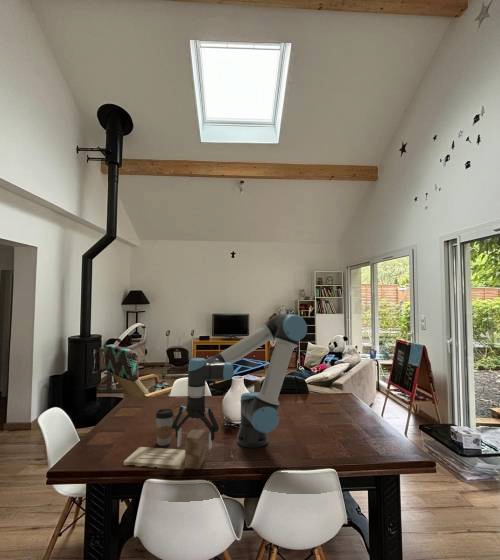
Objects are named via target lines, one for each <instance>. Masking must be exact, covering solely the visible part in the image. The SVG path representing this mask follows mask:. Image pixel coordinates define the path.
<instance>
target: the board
mask: <svg viewBox="0 0 500 560" xmlns="http://www.w3.org/2000/svg"><path fill="white" fill-rule="evenodd" d="M183 464H185V449H179V448H177V449H176V448H165V447H164V448H163V447H148V446H147V447H146V446H139V447H138V448H137V449H136V450H135V451H134V452H132V453H131V454H130V455H129V456H128V457H127V458H126V459H125V460H124V461H123V466H127V465H135V466H134V467H141V466H148V467H147V468H154V467H157V469H167V470H168V469H169V470H180V469H181V467H182V466H183Z"/></svg>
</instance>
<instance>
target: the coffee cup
mask: <svg viewBox="0 0 500 560" xmlns="http://www.w3.org/2000/svg"><path fill="white" fill-rule="evenodd" d="M155 420H156V422H155V424H156V426H155V427H156V428H155V430H156V442H157V445H158V446H161V447H164V446H168V445H170V444H171V442H172V435H173V433H172V432H173V429H172V428H171V427H172V425H173V423H174V421H173V420H174V412H173V409H171V408H160V409H158V410H157V411H156V414H155Z"/></svg>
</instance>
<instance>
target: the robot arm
mask: <svg viewBox="0 0 500 560" xmlns="http://www.w3.org/2000/svg"><path fill="white" fill-rule="evenodd" d="M307 333H308V324H307V323H306V321H305V319H304V318H303V317H302V316H301V315H298V314H294V313H291V314H290V313H289V314H287V313H280V314H277V315H276V316H274V317H272V318H271V319H269V320H268V321H266V322H265V323H263V324H262V325H261V328H259V329H257V330H255V331H254V332H251V334H249V335H246V336H245V337H244V338H242V339H241V340H239V341H237V342H235V343H234V344H232V345H231V346H229V347H228V348H225V349H224V350H223V351H221V352H219V353H218V354H216V355H214V356H210V357H208V358H207V359H206V358H203V357H193V358H190V359H189V360H188V368H187V397H186V398H187V401H186V404H187V405H186V406H185V405H181V406H180V407H179V409H178V414H177V415H176V417H175V419H174V421H173V422H172V427H171V428H172V430H173V429H174V430H175V438H176V439H177V440H176V441H177V443H176V444H177V445H176V447H177V448H180V446H181V445H182V429H183V428H181V427H182V426H183V425H184V424H185V422H186V421H187V420H188V419H189V418H191V419H197V420H199V419H200V420H201V421H202V422H203V423H204V425H205V426H206V428H207V429H208V430H209V432H208V450H211V449H212V447H213V442H214V441H215V436H216V435H215V434H216V433H217V432H218V431H219V430H220V427H219V426H220V425H219V424H218V422H217V420H216V418H215V417H216V416H215V415H214V413H213V407H212V406H210V407H206V406H205V405H206V382H208V381H209V382H210V381H211V382H212V381H227V380H231V379H233V377H234V366H233V364H234V363H237V362H238V361H240V360H241V359H242V358H244V357H245V356H248V354H251V353H252V352H254V351H255V350H257V349H258V348H260V347H262V346H263V345H265V344H266V343H268V342H273V341H275V345H274V349H273V351H272V354H271V358H270V362H269V363H268V367H267V370H266V373H265V376H264V379H263V382H262V386H261V388H260V390H259V392H255V391H254V392H253V391H252V392H250V391H249V392H245V393H242V394H241V395H240V426H239V430H238V432H237V436H236V443H237V444H238V445H239V446H241V447H244V448H250V449H251V448H252V449H255V448H261V447H265V446H266V445H267V444H268V443H269V435H268V433H270V432H272V431H273V430H275V429H276V428H277V426H278V424H279V421H280V414H279V412H278V410H279V407H280V402H279V396H280V392H281V390H282V386H283V383H284V380H285V377H286V375H287V371H288V367H289V364H290V361H291V357H292V355H293V352H294V349H296V348H297V347H299V344H300V342H301V340H303V339H304V337H306V335H307ZM185 411H186V412H187V415H186V416H185V417H184V418H183V419H182V420H181V421H180V419H181V417H182V415H183V413H184V412H185ZM205 413H206V414H207V415H208V417H207V415H206V414H205ZM208 418H209V419H210V420H209V419H208ZM179 421H180V423H179Z"/></svg>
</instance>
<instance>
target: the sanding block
mask: <svg viewBox="0 0 500 560" xmlns="http://www.w3.org/2000/svg"><path fill="white" fill-rule="evenodd" d="M206 433H207V431H206V430H205V429H191V430H190V432H189V433H187V435H186V437H185V449H184V450H185V462H184V468H185V469H191V468H194V470H200V469H201V467H202V465H203V463H204V462H205V460H206V435H207V434H206ZM199 468H200V469H199Z"/></svg>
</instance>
